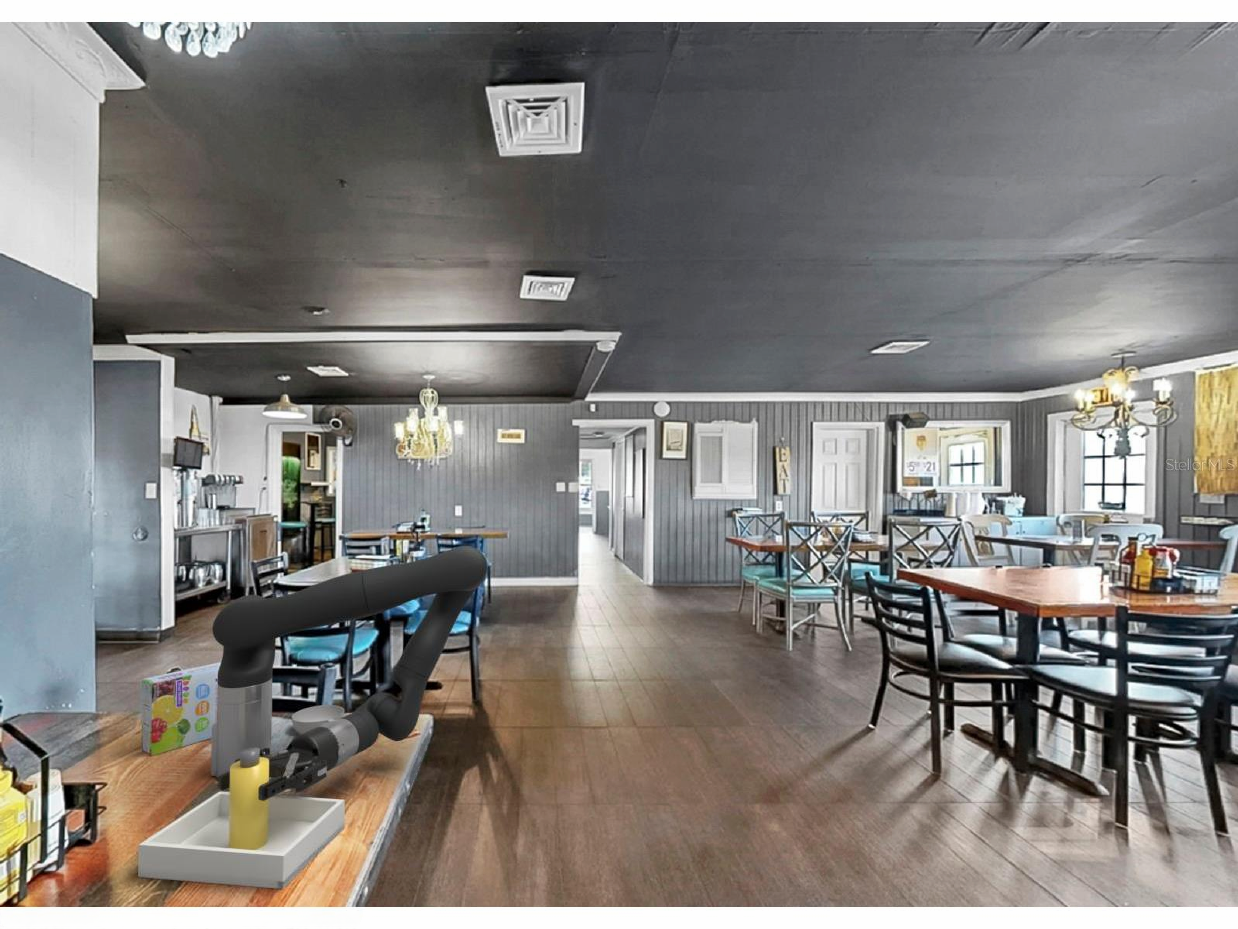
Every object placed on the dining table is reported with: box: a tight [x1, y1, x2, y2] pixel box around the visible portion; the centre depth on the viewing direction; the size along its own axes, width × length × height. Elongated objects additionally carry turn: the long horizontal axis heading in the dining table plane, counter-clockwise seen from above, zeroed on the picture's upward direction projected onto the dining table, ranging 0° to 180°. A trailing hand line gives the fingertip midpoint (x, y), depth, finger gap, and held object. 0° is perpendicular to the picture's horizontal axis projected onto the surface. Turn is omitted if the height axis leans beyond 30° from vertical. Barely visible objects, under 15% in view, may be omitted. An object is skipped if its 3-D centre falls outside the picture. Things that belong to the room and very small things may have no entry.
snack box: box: [141, 661, 221, 757], centre depth 144 cm, size 21×6×15 cm, turn 144°
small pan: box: [291, 704, 345, 735], centre depth 147 cm, size 11×18×4 cm, turn 50°
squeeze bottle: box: [229, 748, 270, 850], centre depth 101 cm, size 5×5×14 cm
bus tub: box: [137, 790, 346, 890], centre depth 100 cm, size 22×16×4 cm
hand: (239, 789), depth 99 cm, fingers open, 8 cm apart
